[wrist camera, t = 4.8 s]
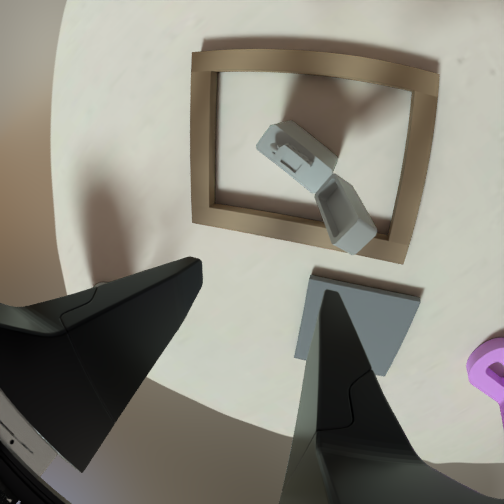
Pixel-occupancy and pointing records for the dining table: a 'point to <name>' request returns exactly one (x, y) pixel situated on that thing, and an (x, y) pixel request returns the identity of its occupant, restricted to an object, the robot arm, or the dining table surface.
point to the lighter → (320, 183)
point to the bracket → (488, 370)
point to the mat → (362, 318)
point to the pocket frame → (321, 65)
